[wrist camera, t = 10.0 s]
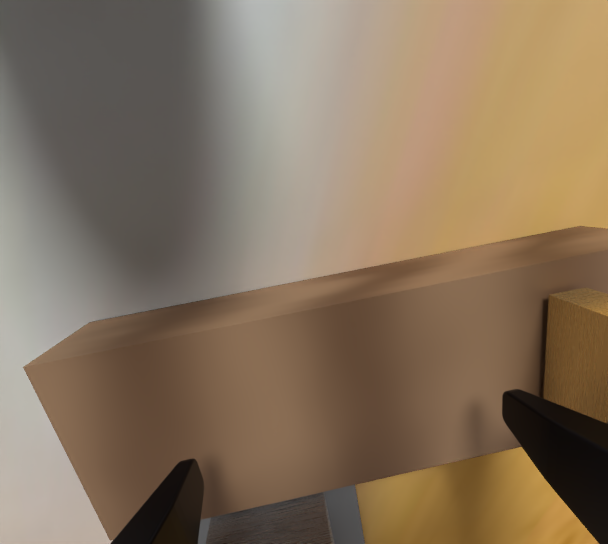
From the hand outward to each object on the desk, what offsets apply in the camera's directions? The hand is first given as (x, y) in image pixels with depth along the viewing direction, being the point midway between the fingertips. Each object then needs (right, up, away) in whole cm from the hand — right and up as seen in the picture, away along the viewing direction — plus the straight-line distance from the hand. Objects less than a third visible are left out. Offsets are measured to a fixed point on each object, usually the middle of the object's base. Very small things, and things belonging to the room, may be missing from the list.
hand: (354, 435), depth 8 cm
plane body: (+1, +1, +4) cm, 5 cm away
